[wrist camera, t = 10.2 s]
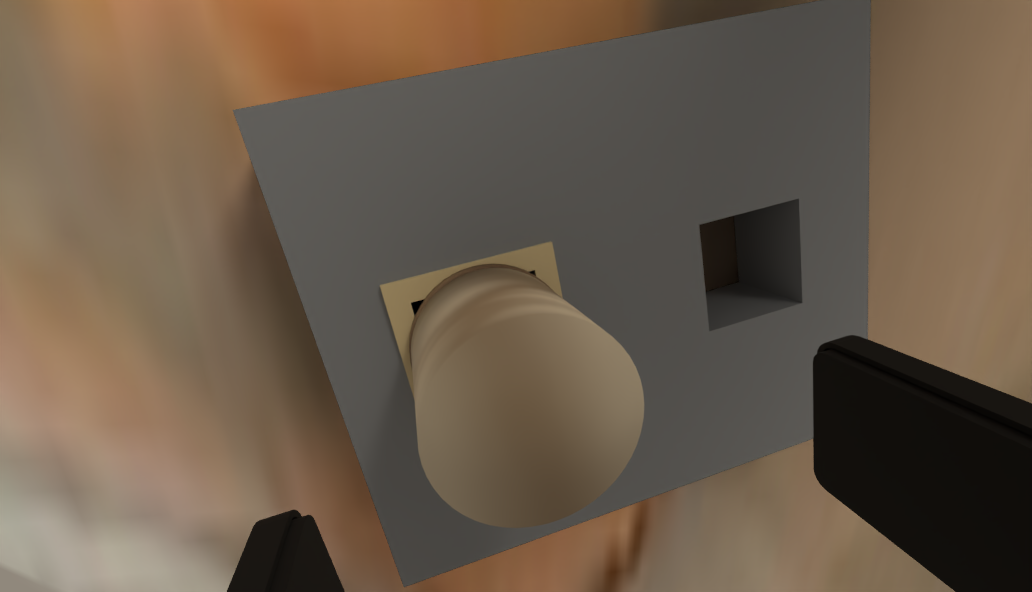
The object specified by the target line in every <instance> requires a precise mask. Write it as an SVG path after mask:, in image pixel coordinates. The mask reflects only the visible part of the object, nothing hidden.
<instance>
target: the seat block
mask: <svg viewBox="0 0 1032 592" xmlns="http://www.w3.org/2000/svg"><path fill="white" fill-rule="evenodd" d="M870 13H871V0H820V1H814V2H809V3H804V4H798V5H793V6H788V7H782V8H777V9H772V10H766V11H761V12H756V13H750V14H745V15H740V16H734V17H729V18H723V19H718V20H713V21H707V22H702V23H697V24H691V25H686V26H681V27H675V28H670V29H665V30H659V31H654V32H649V33H643V34H638V35H632V36H627V37H622V38H616V39H611V40H606V41H600V42H595V43H590V44H584V45H579V46H574V47H568V48H563V49H557V50H552V51H547V52H541V53H536V54H531V55H525V56H520V57H515V58H509V59H504V60H499V61H493V62H488V63H483V64H477V65H472V66H466V67H461V68H456V69H450V70H445V71H440V72H434V73H429V74H424V75H418V76H413V77H408V78H402V79H397V80H391V81H386V82H381V83H375V84H370V85H365V86H359V87H354V88H349V89H343V90H338V91H333V92H327V93H322V94H317V95H311V96H306V97H300V98H295V99H290V100H284V101H279V102H274V103H268V104H263V105H258V106H252V107H247V108H242V109H236V110H233V112H234V115H235V118H236V120H237V123H238V126H239V129H240V131H241V134H242V137H243V140H244V143H245V145H246V148H247V151H248V154H249V157H250V159H251V162H252V165H253V168H254V171H255V173H256V176H257V179H258V182H259V184H260V187H261V190H262V193H263V196H264V198H265V201H266V204H267V207H268V210H269V212H270V215H271V218H272V221H273V224H274V226H275V229H276V232H277V235H278V237H279V240H280V243H281V246H282V249H283V251H284V254H285V257H286V260H287V263H288V265H289V268H290V271H291V274H292V277H293V279H294V282H295V285H296V288H297V290H298V293H299V296H300V299H301V302H302V304H303V307H304V310H305V313H306V316H307V318H308V321H309V324H310V327H311V330H312V332H313V335H314V338H315V341H316V343H317V346H318V349H319V352H320V355H321V357H322V360H323V363H324V366H325V369H326V371H327V374H328V377H329V380H330V382H331V385H332V388H333V391H334V394H335V396H336V399H337V402H338V405H339V408H340V410H341V413H342V416H343V419H344V422H345V424H346V427H347V430H348V433H349V435H350V438H351V441H352V444H353V447H354V449H355V452H356V455H357V458H358V461H359V463H360V466H361V469H362V472H363V475H364V477H365V480H366V483H367V486H368V488H369V491H370V494H371V497H372V500H373V502H374V505H375V508H376V511H377V514H378V516H379V519H380V522H381V525H382V528H383V530H384V533H385V536H386V539H387V541H388V544H389V547H390V550H391V553H392V555H393V558H394V561H395V564H396V567H397V569H398V572H399V575H400V578H401V581H402V583H403V586H404V587H406V586H409V585H412V584H414V583H417V582H420V581H423V580H425V579H428V578H431V577H434V576H436V575H439V574H442V573H445V572H447V571H450V570H453V569H456V568H458V567H461V566H464V565H467V564H469V563H472V562H475V561H478V560H480V559H483V558H486V557H489V556H491V555H494V554H497V553H500V552H502V551H505V550H508V549H511V548H513V547H516V546H519V545H522V544H524V543H527V542H530V541H533V540H535V539H538V538H541V537H544V536H546V535H549V534H552V533H555V532H557V531H560V530H563V529H566V528H568V527H571V526H574V525H577V524H579V523H582V522H585V521H588V520H590V519H593V518H596V517H599V516H601V515H604V514H607V513H610V512H612V511H615V510H618V509H621V508H623V507H626V506H629V505H632V504H634V503H637V502H640V501H643V500H645V499H648V498H651V497H654V496H656V495H659V494H662V493H665V492H667V491H670V490H673V489H676V488H678V487H681V486H684V485H687V484H689V483H692V482H695V481H698V480H700V479H703V478H706V477H709V476H711V475H714V474H717V473H720V472H722V471H725V470H728V469H731V468H733V467H736V466H739V465H742V464H744V463H747V462H750V461H753V460H755V459H758V458H761V457H764V456H766V455H769V454H772V453H775V452H777V451H780V450H783V449H786V448H788V447H791V446H794V445H797V444H799V443H802V442H805V441H808V440H810V439H813V358H814V356H815V355H816V354H817V350H818V348H819V347H820V345H822V344H823V343H826V342H829V341H832V340H835V339H838V338H842V337H845V336H848V335H856V336H860V337H862V338H865V339H868V233H869V123H870ZM731 216H734V224H735V237H736V251H737V264H738V278H739V282H738V283H734V284H731V285H728V286H724V287H721V288H717V289H714V290H710V291H707V292H706V291H705V281H704V270H703V260H702V249H701V239H700V228H699V225H700V224H704V223H708V222H712V221H716V220H719V219H723V218H727V217H731ZM482 264H506V265H510V266H515V267H518V268H521V269H523V270H526V271H528V272H530V273H532V274H533V275H535V276H536V277H538V278H539V279H541V280H542V281H543V282H545V283H546V284H547V285H548V286H549V287H550V288H551V289H552V290H553V291H554V292H555V293H557V294H558V295H559V296H560V297H562V298H563V299H564V300H566V301H567V302H568V303H569V304H571V305H572V306H573V307H575V308H576V309H577V310H579V311H580V312H581V313H582V314H584V315H585V316H586V317H588V318H589V319H590V320H592V321H593V322H594V323H595V324H597V325H598V326H599V327H601V328H602V329H603V330H605V331H606V332H607V333H608V334H610V335H611V336H612V337H613V338H614V339H615V340H616V341H617V342H618V343H620V344H621V345H622V347H623V348H624V349H625V351H626V352H627V353H628V354H629V356H630V357H631V359H632V361H633V363H634V365H635V366H636V369H637V371H638V374H639V377H640V379H641V384H642V388H643V394H644V419H643V424H642V430H641V434H640V437H639V440H638V443H637V446H636V448H635V450H634V452H633V455H632V457H631V459H630V460H629V462H628V464H627V465H626V467H625V469H624V470H623V471H622V473H621V474H620V475H619V477H618V478H617V479H616V480H615V482H614V483H613V484H612V485H611V486H610V487H609V488H608V489H607V490H606V491H605V492H604V493H603V494H601V495H600V496H599V497H598V498H597V499H596V500H594V501H593V502H591V503H590V504H589V505H587V506H586V507H584V508H583V509H581V510H579V511H577V512H575V513H573V514H572V515H569V516H567V517H565V518H562V519H560V520H557V521H554V522H551V523H548V524H544V525H539V526H533V527H524V528H506V527H498V526H492V525H487V524H484V523H481V522H478V521H475V520H473V519H471V518H469V517H466V516H464V515H463V514H461V513H459V512H458V511H456V510H455V509H453V508H452V507H451V506H450V505H449V504H447V503H446V502H445V501H444V500H443V499H442V498H441V497H440V496H439V494H438V493H437V492H436V491H435V490H434V488H433V487H432V485H431V483H430V482H429V480H428V478H427V477H426V474H425V472H424V469H423V467H422V464H421V460H420V456H419V451H418V440H417V426H416V413H415V400H414V386H413V373H412V367H411V363H410V353H409V337H410V331H411V326H412V323H413V320H414V317H415V314H416V312H417V307H416V303H415V302H416V301H419V300H423V299H425V298H426V296H427V295H428V294H429V293H430V292H431V291H432V289H433V288H434V287H436V286H437V285H438V284H439V283H440V282H441V281H443V280H444V279H446V278H447V277H449V276H450V275H452V274H454V273H456V272H458V271H460V270H463V269H466V268H469V267H472V266H476V265H482Z"/></svg>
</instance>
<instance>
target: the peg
mask: <svg viewBox="0 0 1032 592" xmlns="http://www.w3.org/2000/svg"><path fill="white" fill-rule="evenodd" d="M409 353H410V363H411V367H412V373H413V386H414V400H415V413H416V426H417V440H418V451H419V456H420V460H421V464H422V467H423V469H424V472H425V474H426V477H427V478H428V480H429V482H430V483H431V485H432V487H433V488H434V490H435V491H436V492H437V493H438V494H439V496H440V497H441V498H442V499H443V500H444V501H445V502H446V503H447V504H449V505H450V506H451V507H452V508H453V509H455V510H456V511H458V512H459V513H461V514H463V515H464V516H466V517H469V518H471V519H473V520H475V521H478V522H481V523H484V524H487V525H492V526H498V527H506V528H524V527H533V526H539V525H544V524H548V523H551V522H554V521H557V520H560V519H562V518H565V517H567V516H569V515H572V514H573V513H575V512H577V511H579V510H581V509H583V508H584V507H586V506H587V505H589V504H590V503H591V502H593V501H594V500H596V499H597V498H598V497H599V496H600V495H601V494H603V493H604V492H605V491H606V490H607V489H608V488H609V487H610V486H611V485H612V484H613V483H614V482H615V480H616V479H617V478H618V477H619V475H620V474H621V473H622V471H623V470H624V469H625V467H626V465H627V464H628V462H629V460H630V459H631V457H632V455H633V452H634V450H635V448H636V446H637V443H638V440H639V437H640V434H641V430H642V424H643V419H644V394H643V388H642V384H641V379H640V377H639V374H638V371H637V369H636V366H635V365H634V363H633V361H632V359H631V357H630V356H629V354H628V353H627V352H626V351H625V349H624V348H623V347H622V345H621V344H620V343H618V342H617V341H616V340H615V339H614V338H613V337H612V336H611V335H610V334H608V333H607V332H606V331H605V330H603V329H602V328H601V327H599V326H598V325H597V324H595V323H594V322H593V321H592V320H590V319H589V318H588V317H586V316H585V315H584V314H582V313H581V312H580V311H579V310H577V309H576V308H575V307H573V306H572V305H571V304H569V303H568V302H567V301H566V300H564V299H563V298H562V297H560V296H559V295H558V294H557V293H555V292H554V291H553V290H552V289H551V288H550V287H549V286H548V285H547V284H546V283H545V282H543V281H542V280H541V279H539V278H538V277H536V276H535V275H533V274H532V273H530V272H528V271H526V270H523V269H521V268H518V267H515V266H510V265H506V264H482V265H476V266H472V267H469V268H466V269H463V270H460V271H458V272H456V273H454V274H452V275H450V276H449V277H447V278H446V279H444V280H443V281H441V282H440V283H439V284H438V285H437V286H436V287H434V288H433V289H432V291H431V292H430V293H429V294H428V295H427V296H426V298H425V299H424V300H423V302H422V303H421V305H420V307H419V308H418V310H417V312H416V314H415V317H414V320H413V323H412V326H411V331H410V337H409Z"/></svg>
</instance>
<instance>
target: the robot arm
mask: <svg viewBox="0 0 1032 592" xmlns="http://www.w3.org/2000/svg"><path fill="white" fill-rule="evenodd" d="M813 442H814V473H815V476H816V478H817V480H818V481H819V483H820V484H821V485H822V487H823V488H824V489H825V490H827V491H828V492H829V493H830V494H832V495H833V496H834V497H835V498H837V499H838V500H839V501H841V502H842V503H843V504H844V505H846V506H847V507H848V508H850V509H851V510H852V511H853V512H855V513H856V514H857V515H858V516H860V517H861V518H862V519H864V520H865V521H866V522H867V523H869V524H870V525H871V526H872V527H874V528H875V529H876V530H878V531H879V532H880V533H881V534H883V535H884V536H885V537H886V538H888V539H889V540H890V541H892V542H893V543H894V544H895V545H897V546H898V547H899V548H901V549H902V550H903V551H904V552H906V553H907V554H908V555H909V556H911V557H912V558H913V559H915V560H916V561H917V562H918V563H920V564H921V565H922V566H923V567H925V568H926V569H927V570H929V571H930V572H931V573H932V574H934V575H935V576H936V577H937V578H939V579H940V580H941V581H943V582H944V583H945V584H946V585H948V586H949V587H950V588H952V589H953V590H954V591H955V592H1032V403H1029V402H1027V401H1024V400H1021V399H1019V398H1016V397H1014V396H1011V395H1009V394H1006V393H1003V392H1001V391H998V390H996V389H993V388H991V387H988V386H986V385H983V384H980V383H978V382H975V381H973V380H970V379H968V378H965V377H962V376H960V375H957V374H955V373H952V372H950V371H947V370H944V369H942V368H939V367H937V366H934V365H932V364H929V363H927V362H924V361H921V360H919V359H916V358H914V357H911V356H909V355H906V354H903V353H901V352H898V351H896V350H893V349H891V348H888V347H886V346H883V345H880V344H878V343H875V342H873V341H870V340H868V339H865V338H862V337H860V336H856V335H848V336H845V337H842V338H838V339H835V340H832V341H829V342H826V343H823V344H822V345H820V347H819V348H818V350H817V354H816V355H815V356H814V358H813ZM227 592H345V591H344V589H343V587H342V584H341V582H340V580H339V577H338V575H337V572H336V570H335V568H334V565H333V563H332V560H331V558H330V556H329V553H328V551H327V549H326V546H325V544H324V541H323V539H322V537H321V534H320V532H319V529H318V527H317V525H316V522H315V520H314V518H313V517H312V516H311V515H306V516H303V517H302V516H301V514H300V513H299V512H298V511H297V510H291V511H288V512H285V513H282V514H279V515H275V516H272V517H269V518H266V519H263V520H259V521H258V522H256V523H255V525H254V527H253V529H252V531H251V534H250V536H249V538H248V541H247V543H246V546H245V548H244V551H243V553H242V556H241V558H240V561H239V563H238V565H237V568H236V570H235V573H234V575H233V578H232V580H231V583H230V585H229V588H228V590H227Z"/></svg>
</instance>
